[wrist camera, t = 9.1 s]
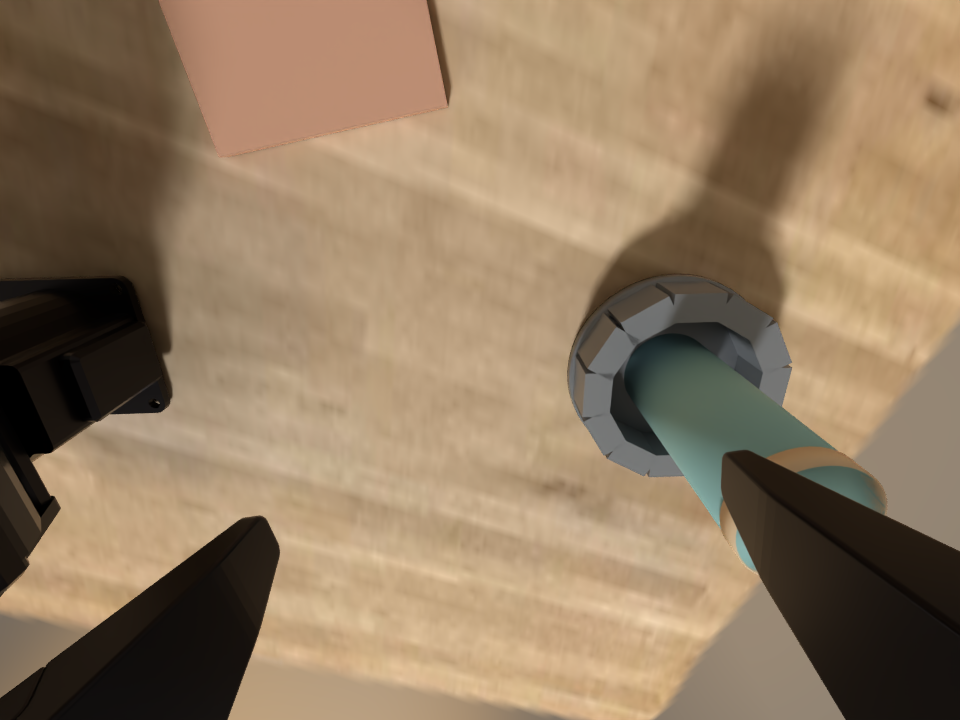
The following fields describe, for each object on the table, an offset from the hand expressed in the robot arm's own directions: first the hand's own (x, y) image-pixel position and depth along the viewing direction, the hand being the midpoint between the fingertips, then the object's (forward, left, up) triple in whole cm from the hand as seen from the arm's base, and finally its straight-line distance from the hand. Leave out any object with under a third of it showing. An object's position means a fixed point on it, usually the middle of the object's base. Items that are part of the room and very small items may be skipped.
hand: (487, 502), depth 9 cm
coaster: (-6, +12, -13) cm, 19 cm away
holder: (+9, -3, -13) cm, 16 cm away
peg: (+9, -3, -13) cm, 16 cm away
